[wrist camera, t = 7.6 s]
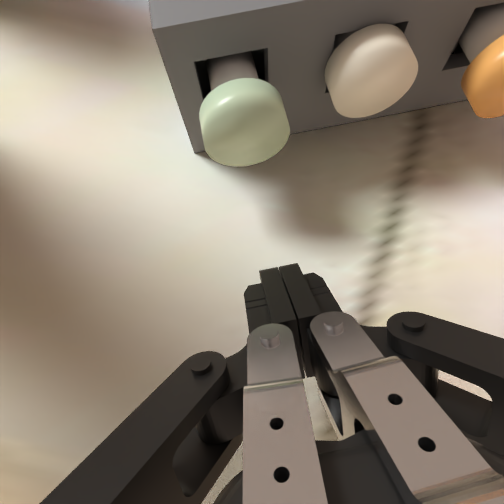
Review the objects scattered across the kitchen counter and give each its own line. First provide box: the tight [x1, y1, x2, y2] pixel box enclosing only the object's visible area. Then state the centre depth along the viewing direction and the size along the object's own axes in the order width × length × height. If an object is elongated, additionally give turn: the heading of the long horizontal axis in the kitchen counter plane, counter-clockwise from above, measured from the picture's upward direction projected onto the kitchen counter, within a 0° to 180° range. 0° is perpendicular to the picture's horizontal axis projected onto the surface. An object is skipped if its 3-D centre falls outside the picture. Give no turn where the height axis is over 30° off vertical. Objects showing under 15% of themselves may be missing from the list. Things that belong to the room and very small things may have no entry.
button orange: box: [458, 3, 504, 118], centre depth 17 cm, size 4×5×4 cm
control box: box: [149, 0, 504, 153], centre depth 20 cm, size 19×10×8 cm, turn 101°
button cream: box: [324, 24, 418, 118], centre depth 18 cm, size 4×5×4 cm
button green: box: [199, 51, 290, 167], centre depth 17 cm, size 4×5×4 cm
